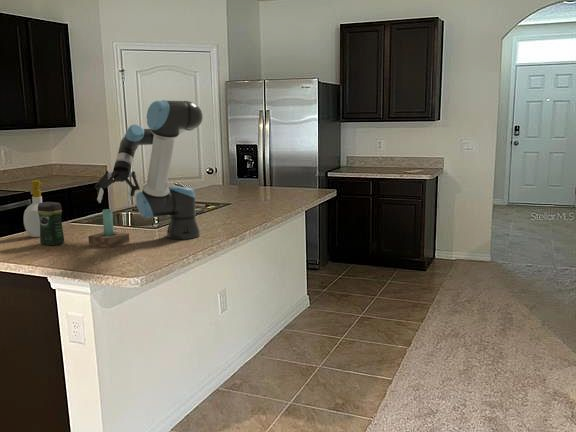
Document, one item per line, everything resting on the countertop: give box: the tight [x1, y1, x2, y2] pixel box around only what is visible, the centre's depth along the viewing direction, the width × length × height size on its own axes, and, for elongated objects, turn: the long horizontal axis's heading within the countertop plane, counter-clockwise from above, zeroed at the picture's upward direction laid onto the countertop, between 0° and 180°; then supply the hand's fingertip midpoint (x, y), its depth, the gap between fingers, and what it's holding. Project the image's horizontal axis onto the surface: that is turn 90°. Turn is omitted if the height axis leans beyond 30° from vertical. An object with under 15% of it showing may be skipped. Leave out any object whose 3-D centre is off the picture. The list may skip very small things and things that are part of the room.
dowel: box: [102, 208, 114, 236], centre depth 246 cm, size 4×4×14 cm
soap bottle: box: [23, 179, 43, 238], centre depth 261 cm, size 14×9×26 cm, turn 146°
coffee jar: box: [38, 201, 65, 246], centre depth 246 cm, size 10×8×19 cm
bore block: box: [87, 231, 130, 249], centre depth 247 cm, size 12×12×4 cm
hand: (113, 201), depth 252 cm, fingers open, 13 cm apart
